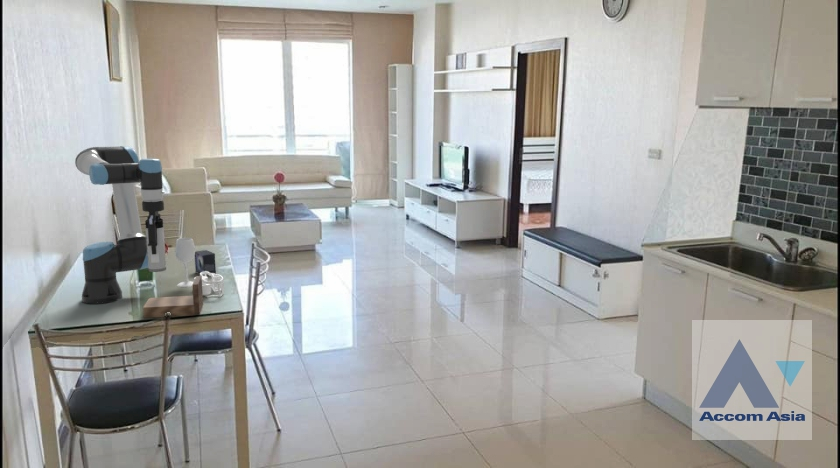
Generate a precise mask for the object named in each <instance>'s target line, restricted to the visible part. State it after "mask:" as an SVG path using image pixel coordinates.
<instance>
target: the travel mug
mask: <svg viewBox="0 0 840 468" xmlns="http://www.w3.org/2000/svg"><path fill="white" fill-rule="evenodd" d="M144 223H145V224H144V225H145V236H146V241H147V255H148V266H149V267H148V268H147V270H148V271H149V272H150V273H160V272H164V271H166V270H167V261H166V260H167V259H166V245H165V231H164V220H163V218H162V217H160V220H159V221H158V222H155V226H157V224H158V227H157V245H158V251H159V262H157V263H151V252H150V246H148V243H149V239H148V223H147V219H146V220H144Z"/></svg>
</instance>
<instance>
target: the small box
mask: <svg viewBox="0 0 840 468" xmlns="http://www.w3.org/2000/svg"><path fill="white" fill-rule="evenodd" d="M194 266H195V273H198V274H199V275H200V273H201V272H204V271H208V272H209V273H216V274H217V269H216V253H215V252H212V251H210V250H207V249H203V250H197V251H196V250H195V256H194ZM203 276H205V274H203ZM207 276H209V275H208V274H207Z"/></svg>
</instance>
